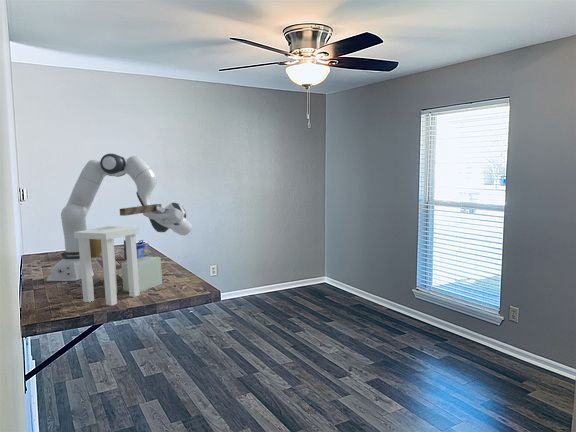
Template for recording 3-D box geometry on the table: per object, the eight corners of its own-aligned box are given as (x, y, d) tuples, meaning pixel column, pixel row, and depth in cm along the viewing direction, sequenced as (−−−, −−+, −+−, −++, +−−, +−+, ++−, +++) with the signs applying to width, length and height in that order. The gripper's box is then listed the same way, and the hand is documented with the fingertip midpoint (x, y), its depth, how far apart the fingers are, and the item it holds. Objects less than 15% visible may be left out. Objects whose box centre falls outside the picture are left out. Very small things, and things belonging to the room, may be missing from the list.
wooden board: (125, 215, 194) (124, 208, 194) (120, 215, 195) (119, 208, 195) (161, 210, 216) (161, 204, 215) (156, 210, 217) (156, 204, 216)
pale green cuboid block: (138, 292, 198) (136, 264, 196) (123, 290, 202) (121, 263, 200) (162, 283, 212) (160, 257, 211) (147, 282, 216) (146, 256, 215)
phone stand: (136, 259, 276) (135, 240, 275) (126, 260, 273) (125, 241, 272) (134, 256, 284) (132, 238, 282) (124, 258, 281) (123, 239, 280)
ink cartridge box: (138, 266, 254) (137, 241, 253) (131, 265, 256) (129, 241, 255) (150, 262, 263) (148, 239, 262) (142, 262, 265) (141, 238, 264)
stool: (111, 306, 178) (105, 233, 175) (79, 302, 185) (73, 232, 182) (143, 294, 194) (138, 227, 191) (112, 291, 202) (107, 226, 198)
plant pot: (100, 258, 283) (98, 233, 281) (77, 258, 283) (75, 234, 282) (110, 253, 298) (108, 230, 296) (88, 254, 298) (86, 231, 296)
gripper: (155, 212, 229) (137, 201, 217) (187, 212, 220) (170, 201, 209) (151, 223, 226) (133, 212, 215) (184, 224, 218) (167, 213, 206)
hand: (152, 207), depth 212 cm, fingers closed on wooden board, 3 cm apart
